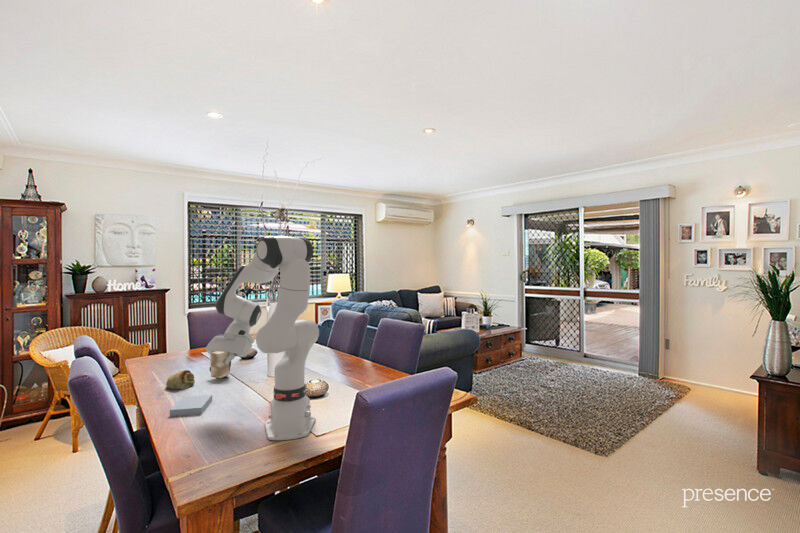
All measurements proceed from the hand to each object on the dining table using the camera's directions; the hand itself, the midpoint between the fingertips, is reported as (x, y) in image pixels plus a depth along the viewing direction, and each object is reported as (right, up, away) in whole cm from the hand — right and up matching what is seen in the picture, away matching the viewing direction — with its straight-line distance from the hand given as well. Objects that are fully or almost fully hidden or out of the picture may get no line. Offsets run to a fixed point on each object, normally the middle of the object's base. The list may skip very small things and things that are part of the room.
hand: (218, 363), depth 166 cm
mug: (-21, -20, +49) cm, 56 cm away
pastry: (-35, -20, +35) cm, 54 cm away
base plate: (-14, -21, +5) cm, 25 cm away
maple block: (0, -5, +1) cm, 5 cm away
